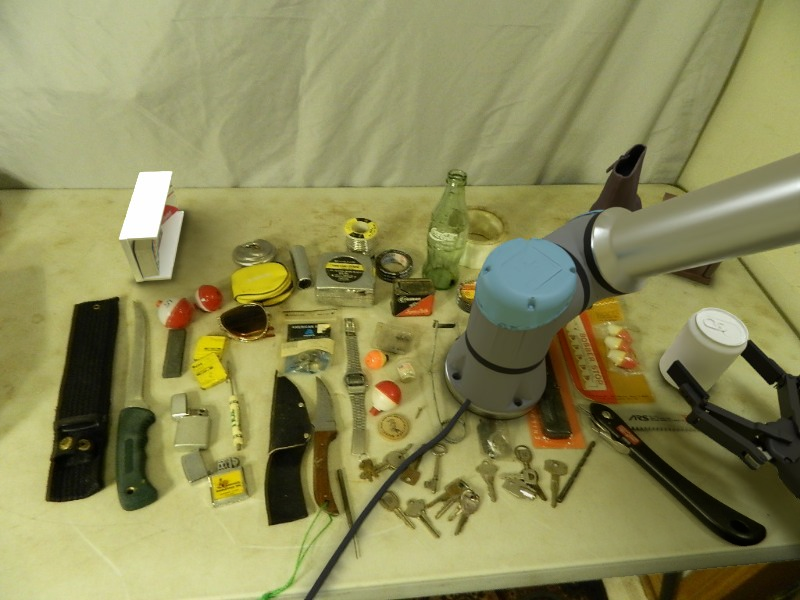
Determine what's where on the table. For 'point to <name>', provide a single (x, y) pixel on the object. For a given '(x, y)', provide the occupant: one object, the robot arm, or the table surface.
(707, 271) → the rack
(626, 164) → the boot
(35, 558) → the table surface
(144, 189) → the cigarette display
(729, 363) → the beverage can
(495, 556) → the table surface
